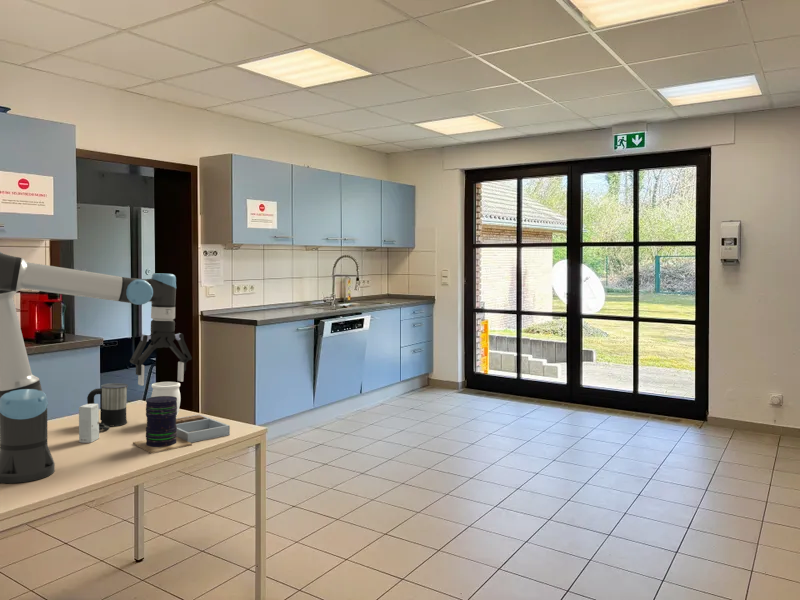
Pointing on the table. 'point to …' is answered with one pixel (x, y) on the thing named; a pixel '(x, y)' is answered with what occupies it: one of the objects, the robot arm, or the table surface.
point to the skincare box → (88, 423)
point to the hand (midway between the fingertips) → (161, 383)
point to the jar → (167, 391)
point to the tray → (215, 429)
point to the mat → (178, 444)
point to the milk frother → (111, 404)
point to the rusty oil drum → (161, 421)
